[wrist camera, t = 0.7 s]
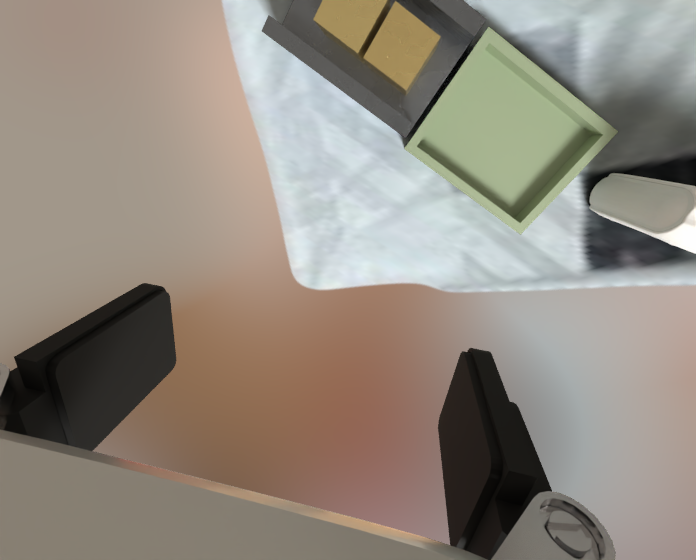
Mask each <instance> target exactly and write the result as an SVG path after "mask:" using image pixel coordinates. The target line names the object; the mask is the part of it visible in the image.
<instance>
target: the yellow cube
mask: <svg viewBox="0 0 696 560" xmlns="http://www.w3.org/2000/svg"><path fill="white" fill-rule="evenodd" d="M440 37H441V36H439V35H438V34H437V33H436V32H434V31H433V30H432V29H430V28H429V27H428V26H427V25H425V24H424V23H423V22H422V21H420V20H419V19H418V18H417V17H415V16H414V15H413V14H412V13H410V12H409V11H408V10H406V9H405V8H404V7H403V6H401V5H400V4H399V3H398V2H396V1H395V2H394V4H393V6H392V8H391V10H390V11H389V13H388V15H387V17H386V18H385V20H384V22H383V24H382V25H381V27H380V29H379V31H378V33H377V34H376V36H375V38H374V40H373V41H372V43H371V45H370V47H369V48H368V50H367V52H366V54H365V56H364V57H363V58H364V60H365V62H366V64H367V66H368V68H370V69H371V70H372V71H374V72H375V73H376V74H378V75H379V76H380V77H381V78H383V79H384V80H385V81H387V82H388V83H389V84H391V85H392V86H393V87H395V88H396V89H397V90H399V91H400V92H401V93H403V94H404V95H405V96H406V95H407V94H408V92H409V91H410V89H411V88H412V86H413V84H414V83H415V81H416V80H417V78H418V77H419V75H420V74H421V72H422V70H423V69H424V67H425V66H426V64H427V63H428V61H429V60H430V58H431V57H432V55H433V53H434V52H435V50H436V48H437V45H438V43H439V40H440Z"/></svg>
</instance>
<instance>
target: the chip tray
mask: <svg viewBox="0 0 696 560" xmlns="http://www.w3.org/2000/svg"><path fill="white" fill-rule="evenodd" d="M617 133H618V131H617V130H616V129H614V128H613V127H612V126H611V125H609V124H608V123H607V122H606V121H605V120H603V119H602V118H601V117H600V116H598V115H597V114H596V113H595V112H593V111H592V110H591V109H590V108H588V107H587V106H586V105H585V104H584V103H582V102H581V101H580V100H579V99H577V98H576V97H575V96H574V95H572V94H571V93H570V92H569V91H567V90H566V89H565V88H564V87H563V86H561V85H560V84H559V83H558V82H556V81H555V80H554V79H553V78H551V77H550V76H549V75H548V74H546V73H545V72H544V71H543V70H542V69H540V68H539V67H538V66H537V65H535V64H534V63H533V62H532V61H530V60H529V59H528V58H527V57H525V56H524V55H523V54H522V53H521V52H519V51H518V50H517V49H516V48H514V47H513V46H512V45H511V44H509V43H508V42H507V41H506V40H505V39H503V38H502V37H501V36H500V35H498V34H497V33H496V32H495V31H493V30H492V29H491V28H490V27H488V28H487V29H486V31H485V32H484V33H483V35H482V36H481V37H480V39H479V40H478V42H477V43H476V45H475V46H474V48H473V49H472V51H471V52H470V53H469V55H468V56H467V58H466V59H465V61H464V62H463V64H462V65H461V67H460V68H459V69H458V71H457V72H456V74H455V75H454V77H453V78H452V80H451V81H450V82H449V84H448V85H447V87H446V88H445V90H444V91H443V93H442V94H441V96H440V97H439V98H438V100H437V101H436V103H435V104H434V106H433V107H432V109H431V110H430V112H429V113H428V114H427V116H426V117H425V119H424V120H423V122H422V123H421V125H420V126H419V128H418V129H417V130H416V132H415V133H414V135H413V136H412V138H411V139H410V141H409V142H408V144H407V145H406V146H405V148H404V149H405V150H407V151H408V152H409V153H411V154H412V155H413V156H415V157H416V158H417V159H419V160H420V161H422V162H423V163H424V164H426V165H427V166H428V167H430V168H431V169H432V170H434V171H435V172H436V173H438V174H439V175H440V176H442V177H443V178H445V179H446V180H447V181H449V182H450V183H451V184H453V185H454V186H455V187H457V188H458V189H459V190H461V191H462V192H463V193H465V194H466V195H468V196H469V197H470V198H472V199H473V200H474V201H476V202H477V203H478V204H480V205H481V206H482V207H484V208H485V209H486V210H488V211H489V212H491V213H492V214H493V215H495V216H496V217H497V218H499V219H500V220H501V221H503V222H504V223H505V224H507V225H508V226H509V227H511V228H512V229H514V230H515V231H516V232H518V233H519V234H520V235H521V234H522V232H523V231H524V230H525V229H526V228H527V227H528V226H529V225H530V224H531V223H532V222H533V221H534V220H535V219H536V218H537V217H538V216H539V215H540V214H541V213H542V211H543V210H544V209H545V208H546V207H547V206H548V205H549V204H550V203H551V202H552V201H553V200H554V199H555V198H556V197H557V196H558V195H559V194H560V193H561V192H562V190H563V189H564V188H565V187H566V186H567V185H568V184H569V183H570V182H571V181H572V180H573V179H574V178H575V177H576V176H577V175H578V174H579V173H580V172H581V171H582V169H583V168H584V167H585V166H586V165H587V164H588V163H589V162H590V161H591V160H592V159H593V158H594V157H595V156H596V155H597V154H598V153H599V152H600V151H601V150H602V148H603V147H604V146H605V145H606V144H607V143H608V142H609V141H610V140H611V139H612V138H613V137H614V136H615V135H616V134H617Z"/></svg>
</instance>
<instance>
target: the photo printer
mask: <svg viewBox="0 0 696 560" xmlns="http://www.w3.org/2000/svg"><path fill="white" fill-rule="evenodd" d="M590 204H591V205H590V207H589V208H590V209H591V210H592V211H594V212H596V213H597V214H599V215H601V216H603V217H605V218H608V219H610V220H611V221H615V222H618V223H620V224H623V225H625V226H628V227H631V228H633V229H636V230H638V231H641V232H643V233H646V234H648V235H650V236H653V237H655V238H658V239H660V240H663V241H665V242H667V243H669V244H670V245H674V246H677V247H680V248H682V249H685V250H687V251H690V252H693V253H695V254H696V186H692V185H686V184H680V183H674V182H669V181H663V180H658V179H652V178H646V177H640V176H633V175H627V174H618V173H611V174H609V176H608V177H606V178H604V179H602V180H601V181H600V182H598V183H597V184H596V186H595V187H594V188H593V190H592V192H591V194H590Z"/></svg>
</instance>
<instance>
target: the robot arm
mask: <svg viewBox="0 0 696 560" xmlns="http://www.w3.org/2000/svg"><path fill="white" fill-rule="evenodd" d="M14 358H15V361H16V364H17V368H15V369H14V370H12V371H10V369H9V368H8V367H7V366H6V365H4V364H2V363H0V560H615V549H614V546H613V542H612V540H611V538H610V536H609V534H608V533H607V531H606V529H605V528H604V526H603V525H602V524H601V523H600V522H599V520H598V519H597V518H596V517H595V516H594V515H593V514H592V513H591V512H590V511H589V510H588V509H586V508H585V507H584V506H583V505H581V504H580V503H578V502H577V501H575V500H574V499H572V498H570V497H568V496H566V495H563V494H561V493H557V492H552V490H551V487H550V485H549V482H548V480H547V477H546V475H545V472H544V470H543V467H542V465H541V462H540V460H539V457H538V455H537V452H536V450H535V447H534V445H533V443H532V440H531V438H530V435H529V433H528V430H527V428H526V425H525V423H524V420H523V418H522V415H521V413H520V411H519V408H518V406H517V405H516V404H515V403H513V402H509V399H508V396H507V394H506V391H505V389H504V386H503V383H502V381H501V378H500V375H499V372H498V370H497V367H496V365H495V362H494V359H493V357H492V354H491V353H490V352H488V351H483V350H478V349H473V348H470V349H469V350H468V352H462V353H461V355H460V357H459V360H458V363H457V366H456V369H455V372H454V375H453V379H452V381H451V385H450V387H449V390H448V394H447V397H446V399H445V403H444V405H443V409H442V412H441V414H440V418H439V424H438V431H439V440H440V450H441V460H442V469H443V479H444V489H445V498H446V507H447V517H448V527H449V537H450V545H451V546H450V545H447V544H444V543H441V542H438V541H435V540H432V539H429V538H426V537H422V536H418V535H415V534H411V533H408V532H404V531H400V530H397V529H393V528H390V527H386V526H382V525H379V524H375V523H372V522H368V521H364V520H360V519H357V518H353V517H349V516H346V515H342V514H338V513H334V512H330V511H326V510H322V509H318V508H315V507H311V506H307V505H303V504H299V503H295V502H291V501H287V500H284V499H280V498H276V497H272V496H268V495H264V494H260V493H257V492H253V491H248V490H245V489H241V488H237V487H233V486H229V485H225V484H221V483H217V482H213V481H209V480H205V479H201V478H197V477H193V476H189V475H185V474H181V473H177V472H174V471H169V470H166V469H162V468H158V467H153V466H150V465H145V464H142V463H138V462H134V461H130V460H125V459H121V458H117V457H113V456H109V455H105V454H101V453H97V452H93V450H94V449H95V448H96V447H97V446H98V444H100V442H102V441H103V440H104V438H106V436H108V435H109V434H110V432H111V431H112V430H113V429H114V428H115V427H116V426H117V425H118V424H119V423H120V422H121V421H122V420H123V419H124V418H125V417H126V416H127V415H128V414H129V413H130V412H131V411H132V410H133V409H134V408H135V407H136V406H137V405H138V404H139V403H140V402H141V401H142V400H143V399H144V398H145V397H146V396H147V395H148V394H149V393H150V392H151V391H152V390H153V389H154V388H155V387H156V386H157V385H158V384H159V383H160V382H161V381H162V380H163V379H164V378H165V377H166V376H167V375H168V374H169V373H170V372H171V371H172V369H173V368H174V366H175V364H176V352H175V342H174V334H173V323H172V313H171V303H170V296H169V294H168V293H167V292H166V290H165V289H164V288H163V287H161V286H157V285H151V284H147V283H144V284H141V285H139V286H138V287H136V288H134V289H132V290H130V291H129V292H127V293H125V294H123V295H122V296H120V297H118V298H116V299H115V300H113V301H111V302H109V303H108V304H106V305H104V306H102V307H101V308H99V309H97V310H95V311H94V312H92V313H90V314H88V315H87V316H85V317H83V318H81V319H80V320H78V321H76V322H74V323H73V324H71V325H69V326H67V327H66V328H64V329H62V330H60V331H59V332H57V333H55V334H53V335H52V336H50V337H48V338H46V339H45V340H43V341H41V342H40V343H38V344H36V345H34V346H32V347H31V348H29V349H27V350H25V351H24V352H22V353H20V354H19V355H17V356H15V357H14Z"/></svg>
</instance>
